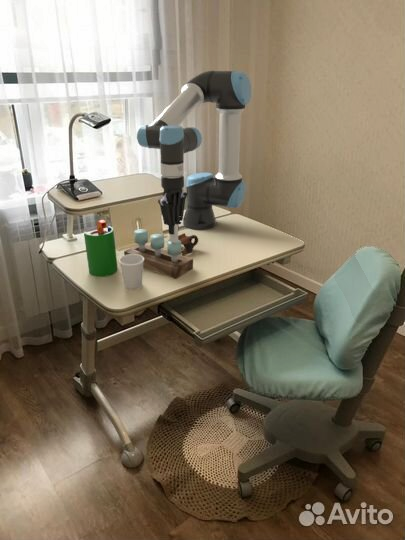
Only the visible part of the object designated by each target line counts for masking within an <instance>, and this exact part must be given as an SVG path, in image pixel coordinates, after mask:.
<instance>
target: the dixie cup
mask: <svg viewBox="0 0 405 540" xmlns="http://www.w3.org/2000/svg"><path fill="white" fill-rule="evenodd" d="M118 262H119V264H120V271H121V274H122V278H123V284H124V287H125V289H127V290H131V291H133V290H138V289H141V288H142V285H143V274H144V273H143V272H144V267H143V262H144V257H143V256H141V255H138V254H128V255H124V254H123V255H122V256H121V257H119V259H118Z"/></svg>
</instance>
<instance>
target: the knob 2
mask: <svg viewBox="0 0 405 540" xmlns="http://www.w3.org/2000/svg"><path fill="white" fill-rule="evenodd" d="M149 238H150V239H149V240H150V243H149V245H151V248H152V249H154V252H155V257H158V258H160V257H161V249H164V248H165V236H164V234H162V233H153V234H151V235H149Z"/></svg>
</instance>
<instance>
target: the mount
mask: <svg viewBox="0 0 405 540" xmlns="http://www.w3.org/2000/svg"><path fill="white" fill-rule="evenodd" d="M128 254H138V255H141V256H143V257H144V262H143V269H147V270H150V271H153V272H156V273H158V274H161V275H164V276H167V277H169V278H172V279H175V280H177V279H178V278H180V277H182V276H183V275H185V274H187V273H188V272H190V271H193V268H194V259H193V258H192V257H188V256H186V255H185V256H183V255H182V254H179V255H178V263H177V264H176V263H173V262H171V255H169V254H168V253H167V250H166V249H164V248H162V249H161V257H160V258H158V257H155V252H154V249H152V248H151V244H148V243H145V252H140V251H139V246H138V244H137V245H135V246H132V247H130V248H128V249H126V250H124V251H123V256H124V255H128Z"/></svg>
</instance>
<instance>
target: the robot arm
mask: <svg viewBox="0 0 405 540" xmlns="http://www.w3.org/2000/svg"><path fill="white" fill-rule="evenodd" d="M251 97H252V84H251V79H250V78H249V76H248V74H247V73H245V72H244V71H236V70H207V71H204V72H201V73H199V74H198V75H196V76H194V77H192V78H191V79H190V80H188V81H187V82H186V83H185V84H184V85H183V86H182V87H181V92H180V93H179V94H178V96H177V97H176V98H174V100H173V101H172V102H171V103H170V104H169V105H167V107H166V108H165V109H164V110H163V111H162V112H161V113H160V115H159V116H158V117H156V118H155V120H154V121H153V122H152V123H151V124H145V125H144V124H142V125H140V126H139V127H138V129H137V131H136V141H137V142H138V143H137V144H139V146H141V147H144V148H148V149H155V150H156V149H157V150H158V149H159V150H160V154H159V155H160V175H161V176H160V180H161V181H160V184H161V188H162V190H163V193H162V198H161V199H158V200H157V203H158V204H159V205H160V210H161V216H162V220H163V224H164V225H167V226H168V234H169V239H170V242H173V243H177V242H178V236H179V232H180V231H179V230H180V229H179V226H180V225H181V224H182V225H183V226H185V227H186V228H188V229H191V230H207V229H211V228H213V227H215V226H216V225H217V219H216V215H215V213H214V208H213V206H218V207H223V208H224V207H225V208H228V209H229V208H233V209H237V208H239V207H241V205H242V204H243V202H244V200H245V197H246V193H247V187H248V185H247V183H246V181H243V175H242V174H241V173H240V172H239V171H240V150H241V148H240V146H241V123H242V113H243V111H244V110H246V106H247V105H249V103H250V101H251ZM206 103H213V104H215V109H216V110H217V111H218V113H219V122H218V123H219V125H218V126H219V127H218V128H219V129H218V130H219V131H218V132H219V133H218V135H219V137H218V172H217V173H216V174H215V175H214V174H213V173H211V172H197V173H193V174H190V175H189V176H187V178H186V185H185V177H184V173H185V172H184V171H185V168H184V165H185V164H184V163H185V162H184V159H185V157H184V156H185V154H186V153H189V152H193V151H195V150H196V149H198V148H200V146H201V145H202V142H203V137H202V133H201V132H200V130H199V129H197V128H196V127H192V126H191V127H185V128H183V127H182V126H181V124H183V122H184V121H185V120H186V119H187V118H188V117H189V115H190V114H191V113H192V112H193V111H194V109H195V108H198V107H201V106H202V105H203V104H206ZM184 187H186V189H185V190H186V191H183V188H184ZM185 204H186V205H185ZM185 206H186V207H185ZM185 208H186V209H185ZM181 221H182V222H181Z"/></svg>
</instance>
